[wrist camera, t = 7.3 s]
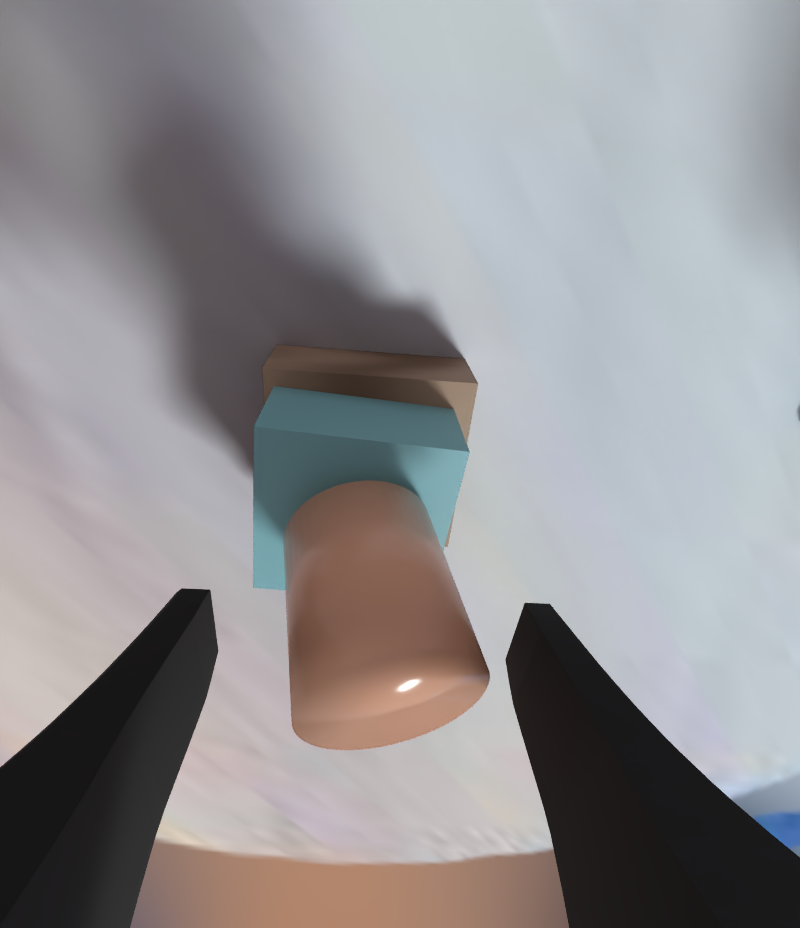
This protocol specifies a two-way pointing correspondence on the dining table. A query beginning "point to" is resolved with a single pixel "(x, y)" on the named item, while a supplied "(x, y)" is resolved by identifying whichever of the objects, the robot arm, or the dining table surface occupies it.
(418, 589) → the terracotta cylinder
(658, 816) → the robot arm
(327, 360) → the walnut base slab
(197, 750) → the dining table surface
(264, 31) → the dining table surface
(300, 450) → the teal top slab
